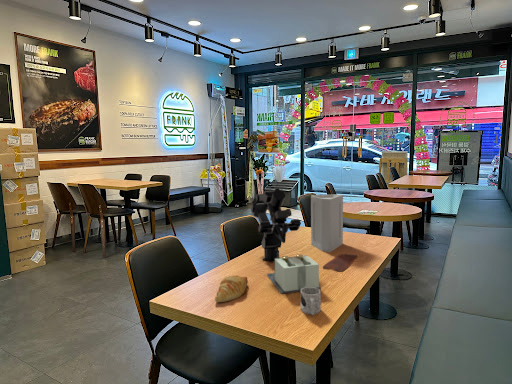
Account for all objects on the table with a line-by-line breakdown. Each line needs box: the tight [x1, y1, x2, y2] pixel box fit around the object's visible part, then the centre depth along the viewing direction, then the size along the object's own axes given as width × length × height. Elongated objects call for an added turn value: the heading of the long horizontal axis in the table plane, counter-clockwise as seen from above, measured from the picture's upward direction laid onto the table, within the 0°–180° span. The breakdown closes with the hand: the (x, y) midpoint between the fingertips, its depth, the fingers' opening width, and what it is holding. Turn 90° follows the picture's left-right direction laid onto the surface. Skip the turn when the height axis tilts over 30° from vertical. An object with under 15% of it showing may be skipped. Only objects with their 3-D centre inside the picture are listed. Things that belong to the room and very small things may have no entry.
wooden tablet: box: [322, 253, 358, 273], centre depth 163 cm, size 27×10×2 cm, turn 147°
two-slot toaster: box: [274, 254, 320, 291], centre depth 135 cm, size 12×14×9 cm
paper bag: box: [310, 193, 344, 253], centre depth 189 cm, size 19×15×28 cm
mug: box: [300, 287, 322, 316], centre depth 113 cm, size 10×7×7 cm, turn 178°
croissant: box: [214, 275, 249, 303], centre depth 129 cm, size 21×10×8 cm, turn 153°
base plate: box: [266, 254, 322, 295], centre depth 139 cm, size 20×16×11 cm
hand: (284, 242), depth 149 cm, fingers closed
